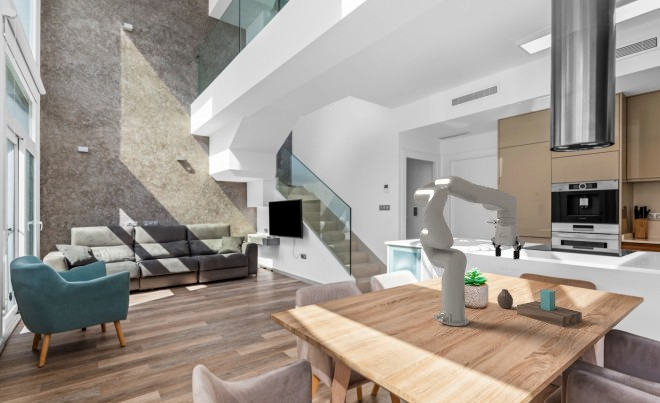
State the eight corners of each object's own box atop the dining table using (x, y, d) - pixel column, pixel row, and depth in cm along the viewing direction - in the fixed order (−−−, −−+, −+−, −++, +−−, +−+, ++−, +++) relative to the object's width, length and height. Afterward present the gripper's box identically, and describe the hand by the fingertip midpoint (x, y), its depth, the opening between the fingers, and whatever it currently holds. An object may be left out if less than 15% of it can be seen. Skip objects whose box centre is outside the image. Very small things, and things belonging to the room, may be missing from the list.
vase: (511, 310, 163) (511, 292, 164) (496, 308, 168) (495, 290, 168) (514, 307, 169) (514, 289, 169) (499, 304, 173) (498, 287, 173)
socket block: (562, 327, 141) (562, 317, 141) (517, 313, 158) (517, 305, 158) (581, 321, 147) (581, 312, 147) (536, 309, 165) (535, 301, 165)
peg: (549, 319, 150) (549, 292, 150) (540, 317, 154) (540, 290, 154) (555, 318, 152) (555, 291, 152) (546, 315, 155) (545, 289, 155)
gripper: (486, 220, 168) (486, 255, 167) (518, 222, 152) (518, 260, 152) (497, 220, 171) (497, 255, 170) (529, 222, 155) (529, 260, 155)
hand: (507, 257), depth 161 cm, fingers open, 9 cm apart
